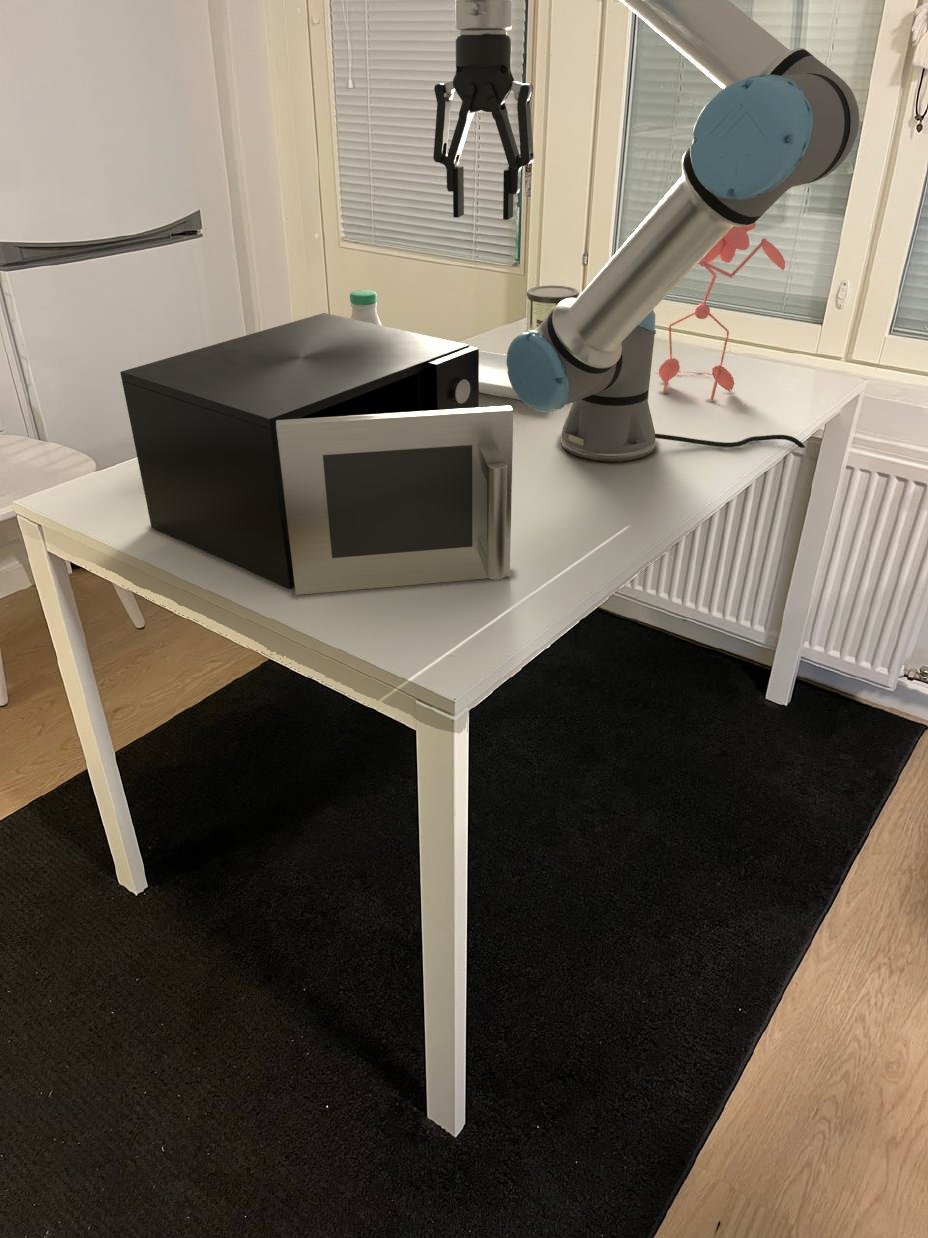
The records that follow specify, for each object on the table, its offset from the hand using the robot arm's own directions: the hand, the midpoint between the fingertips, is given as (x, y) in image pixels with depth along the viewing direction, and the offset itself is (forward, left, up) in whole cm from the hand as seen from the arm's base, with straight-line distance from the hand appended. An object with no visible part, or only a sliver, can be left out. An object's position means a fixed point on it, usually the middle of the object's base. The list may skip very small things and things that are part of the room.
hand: (483, 216), depth 140 cm
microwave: (+14, +32, -35) cm, 50 cm away
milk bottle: (+25, -11, -35) cm, 44 cm away
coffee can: (0, -46, -35) cm, 58 cm away
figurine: (-31, -39, -35) cm, 61 cm away
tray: (+8, -29, -35) cm, 46 cm away
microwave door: (-6, +51, -35) cm, 62 cm away
